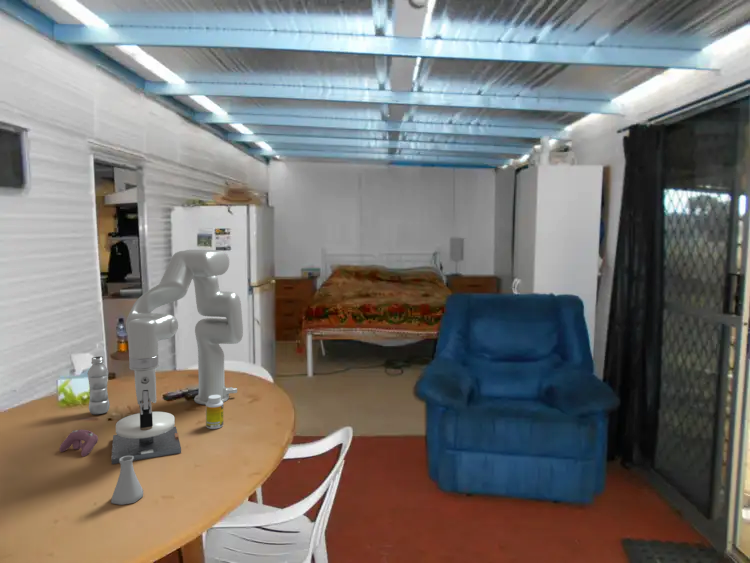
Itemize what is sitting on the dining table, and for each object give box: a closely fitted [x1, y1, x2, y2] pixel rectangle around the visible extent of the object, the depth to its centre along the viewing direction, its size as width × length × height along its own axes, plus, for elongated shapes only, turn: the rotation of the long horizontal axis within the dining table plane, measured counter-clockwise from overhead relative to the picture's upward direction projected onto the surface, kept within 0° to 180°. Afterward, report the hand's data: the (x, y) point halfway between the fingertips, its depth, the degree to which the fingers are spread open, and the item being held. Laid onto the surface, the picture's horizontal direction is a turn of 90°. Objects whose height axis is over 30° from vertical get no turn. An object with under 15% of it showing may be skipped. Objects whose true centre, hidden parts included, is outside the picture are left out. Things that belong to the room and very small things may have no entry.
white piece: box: [115, 402, 176, 438], centre depth 150 cm, size 16×16×9 cm
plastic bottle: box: [87, 356, 111, 415], centre depth 176 cm, size 6×7×20 cm
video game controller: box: [59, 429, 99, 457], centre depth 147 cm, size 10×5×7 cm, turn 71°
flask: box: [110, 456, 144, 506], centre depth 121 cm, size 7×7×10 cm
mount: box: [111, 425, 182, 465], centre depth 150 cm, size 18×18×6 cm
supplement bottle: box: [205, 395, 224, 430], centre depth 167 cm, size 6×6×10 cm
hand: (146, 423), depth 144 cm, fingers open, 3 cm apart
